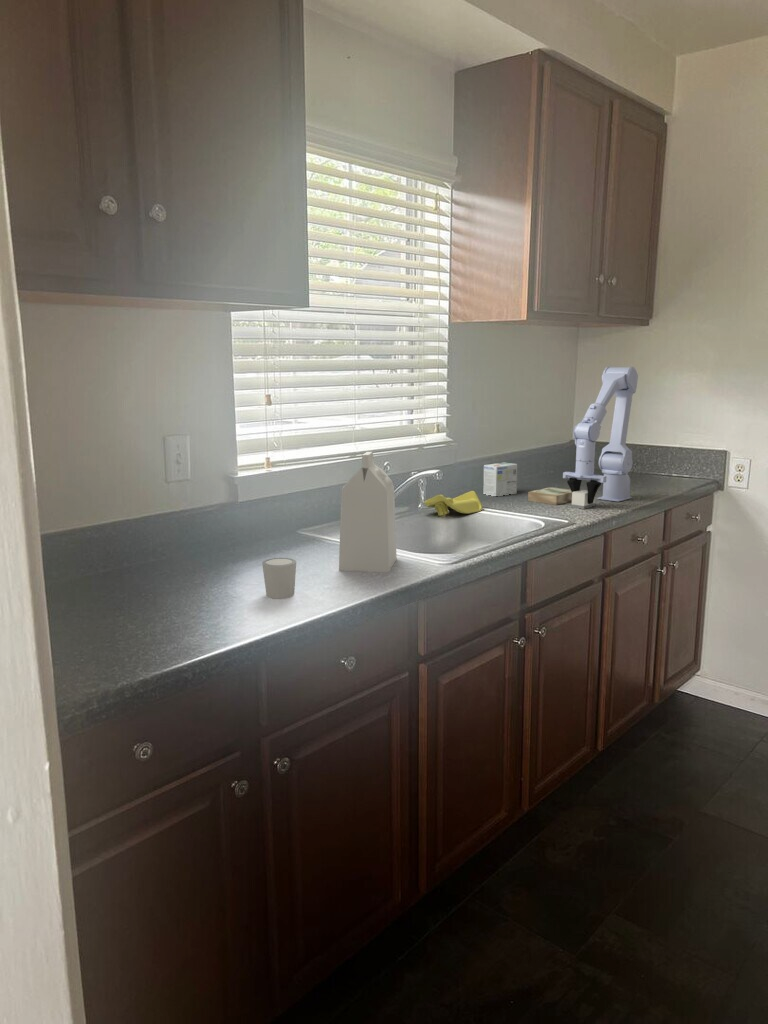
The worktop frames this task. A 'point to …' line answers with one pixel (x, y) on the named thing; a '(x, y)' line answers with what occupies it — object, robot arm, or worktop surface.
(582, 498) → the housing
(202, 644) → the worktop surface
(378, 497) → the milk
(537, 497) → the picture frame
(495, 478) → the light bulb box
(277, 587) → the shot glass
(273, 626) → the worktop surface
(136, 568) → the worktop surface
